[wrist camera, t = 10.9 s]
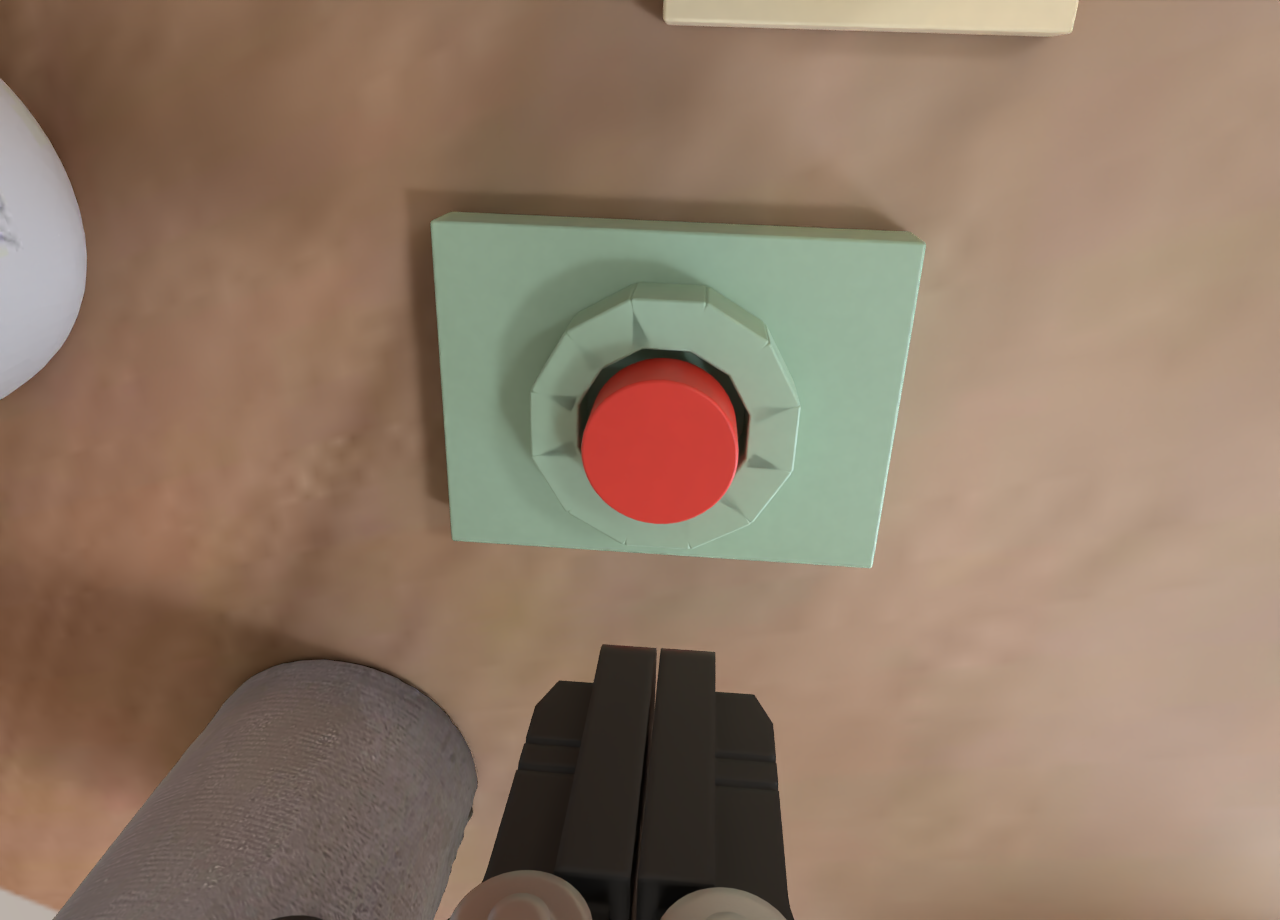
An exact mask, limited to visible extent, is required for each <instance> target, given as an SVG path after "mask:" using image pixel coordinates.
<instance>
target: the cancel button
mask: <svg viewBox="0 0 1280 920" xmlns="http://www.w3.org/2000/svg"><path fill="white" fill-rule="evenodd" d="M581 455H582V462H583V467H584V470H585V473H586V476H587V478H588V480H589V482H590V484H591V486H592V487H593V489H594V490H595V492H596V493H597V494H598V495H599V496H600V497H601V499H602V500H603V501H604V502H605V503H607V504H608V505H609V506H610V507H611V508H613V509H614V510H616V511H617V512H619V513H621V514H623V515H625V516H627V517H629V518H632V519H634V520H637V521H641V522H645V523H653V524H670V523H677V522H682V521H686V520H688V519H691V518H694V517H696V516H698V515H700V514H702V513H704V512H705V511H707V510H708V509H710V508H711V507H712V506H713V505H715V504H716V503H717V502H718V501H719V500H720V499H721V498H722V496H723V495H724V494H725V493H726V491H727V490H728V488H729V487H730V485H731V483H732V481H733V479H734V476H735V473H736V470H737V465H738V456H739V448H738V436H737V423H736V416H735V411H734V408H733V405H732V403H731V400H730V398H729V396H728V394H727V393H726V391H725V390H724V388H723V387H722V386H721V385H720V383H719V382H718V381H717V380H716V379H715V378H714V377H713V376H712V375H710V374H709V373H707V372H706V371H705V370H703V369H701V368H699V367H698V366H696V365H694V364H691V363H688V362H686V361H682V360H678V359H671V358H653V359H646V360H642V361H639V362H636V363H633V364H631V365H628V366H627V367H625V368H623V369H621V370H620V371H618V372H617V373H616V374H615V375H613V376H612V377H611V378H610V379H609V380H608V381H607V382H606V383H605V385H604V386H603V387H602V389H601V390H600V392H599V393H598V395H597V397H596V399H595V402H594V405H593V407H592V410H591V413H590V415H589V418H588V421H587V424H586V426H585V429H584V433H583V437H582V445H581Z"/></svg>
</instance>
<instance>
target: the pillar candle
mask: <svg viewBox="0 0 1280 920" xmlns="http://www.w3.org/2000/svg"><path fill="white" fill-rule="evenodd" d="M477 784H478V781H477V775H476V770H475V765H474V762H473V758H472V755H471V752H470V750H469V748H468V746H467V744H466V742H465V740H464V738H463V736H462V735H461V733H460V732H459V730H458V729H457V728H456V726H454V725H453V724H452V722H451V720H450V719H449V716H448V715H446V713H445V712H444V711H442V709H441V708H440V707H439V706H438V705H437V704H436V703H434V702H433V701H432V700H431V699H430V698H429V697H427V696H425V695H424V694H423V693H420V692H419V691H418V690H417V689H416V688H414V687H412V686H409V685H407V684H405V683H403V682H402V681H400V680H399V679H398V678H395V677H393V676H391V675H388V674H386V673H383V672H380V671H378V670H375V669H372V668H368V667H365V666H362V665H358V664H353V663H347V662H340V661H333V660H326V659H324V660H304V661H296V662H291V663H284V664H280V665H277V666H274V667H271V668H269V669H267V670H265V671H262V672H260V673H258V674H256V675H254V676H252V677H251V678H249V679H248V680H247V681H246V682H244V683H243V684H242V685H241V686H240V687H239V688H238V689H237V690H236V691H235V692H234V693H233V694H232V695H231V696H230V697H229V698H228V699H227V700H226V701H225V703H224V704H223V705H222V706H221V708H220V709H219V711H218V712H217V713H216V715H215V716H214V718H213V719H212V720H211V722H210V723H209V724H208V725H207V727H206V728H205V729H204V731H203V732H202V733H201V734H200V735H199V736H198V738H197V739H196V740H195V741H194V742H193V743H192V744H191V745H190V746H189V748H188V749H187V750H186V751H185V753H184V754H183V755H182V757H181V759H180V760H179V761H178V762H177V763H176V765H175V766H174V767H173V768H172V770H171V771H170V772H169V773H168V775H167V776H166V777H165V778H164V779H163V780H162V782H161V783H160V784H159V785H158V787H157V788H156V789H155V790H154V792H153V793H152V794H151V795H150V797H149V798H148V799H147V801H146V802H145V803H144V805H143V806H142V807H141V808H140V810H139V811H138V812H137V813H136V814H135V816H134V817H133V818H132V820H131V821H130V822H129V823H128V825H127V826H126V827H125V828H124V830H123V831H122V832H121V834H120V835H119V836H118V837H117V839H116V840H115V841H114V842H113V844H112V845H111V846H110V847H109V849H108V850H107V851H106V853H105V854H104V855H103V856H102V858H101V859H100V860H99V861H98V863H97V864H96V865H95V867H94V868H93V869H92V870H91V872H90V873H89V874H88V875H87V877H86V878H85V879H84V881H83V882H82V883H81V884H80V886H79V887H78V888H77V889H76V891H75V892H74V893H73V895H72V896H71V897H70V899H69V900H68V901H67V902H66V904H65V905H64V906H63V907H62V909H61V910H60V911H59V912H58V914H57V915H56V916H55V917H54V919H53V920H272V919H275V918H279V917H285V916H291V915H306V916H312V917H317V918H320V919H323V920H433V919H434V917H435V914H436V911H437V910H438V907H439V904H440V901H441V898H442V895H443V893H444V891H445V888H446V886H447V883H448V878H449V875H450V873H451V868H452V864H453V862H454V860H455V859H456V854H457V850H458V848H459V846H460V844H461V841H462V840H463V837H464V829H465V826H466V825H467V822H468V821H469V820H470V818H471V816H472V812H473V810H472V805H473V799H474V795H475V792H476V789H477V786H478V785H477Z"/></svg>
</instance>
